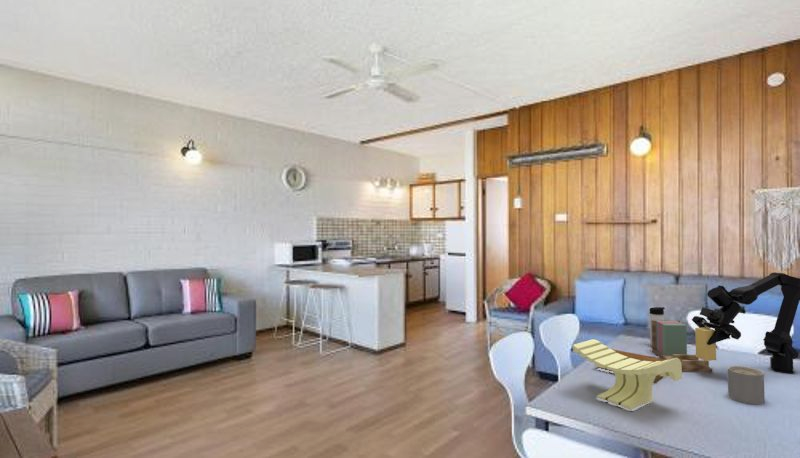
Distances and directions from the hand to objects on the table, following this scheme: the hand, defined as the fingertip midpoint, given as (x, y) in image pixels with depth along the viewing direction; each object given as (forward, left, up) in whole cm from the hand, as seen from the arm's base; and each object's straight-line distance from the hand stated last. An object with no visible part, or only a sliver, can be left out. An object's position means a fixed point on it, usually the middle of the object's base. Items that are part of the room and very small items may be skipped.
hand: (702, 342), depth 173 cm
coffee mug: (-12, +18, -14) cm, 26 cm away
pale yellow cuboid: (-1, -1, -7) cm, 7 cm away
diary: (+25, +7, -14) cm, 29 cm away
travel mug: (+18, -38, -14) cm, 44 cm away
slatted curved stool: (+24, +42, -14) cm, 50 cm away
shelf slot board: (+8, -16, -13) cm, 23 cm away
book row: (+11, -24, -12) cm, 29 cm away
